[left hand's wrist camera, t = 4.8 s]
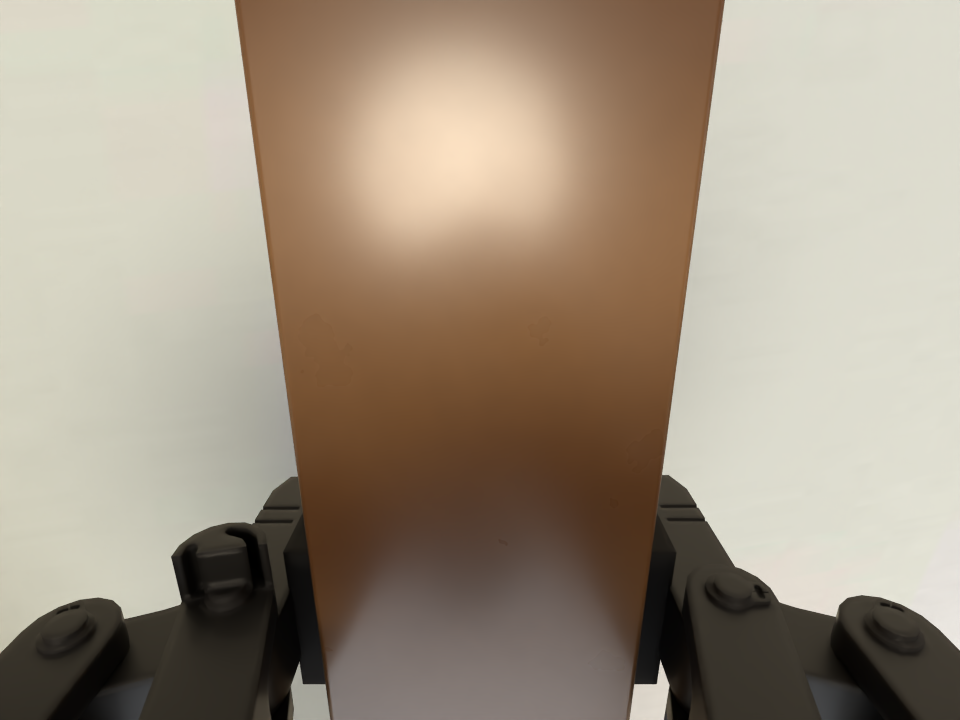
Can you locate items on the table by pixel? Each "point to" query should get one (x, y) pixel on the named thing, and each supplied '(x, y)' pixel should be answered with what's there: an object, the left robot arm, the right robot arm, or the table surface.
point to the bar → (479, 330)
